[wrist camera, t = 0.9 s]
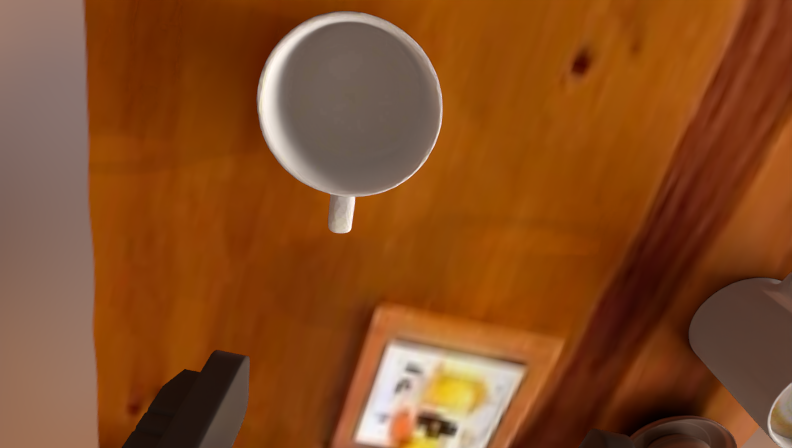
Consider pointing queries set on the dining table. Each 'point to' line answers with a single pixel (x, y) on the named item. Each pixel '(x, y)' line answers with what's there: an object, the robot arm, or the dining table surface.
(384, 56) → the teacup
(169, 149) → the dining table surface
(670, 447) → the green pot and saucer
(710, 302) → the coffee mug
